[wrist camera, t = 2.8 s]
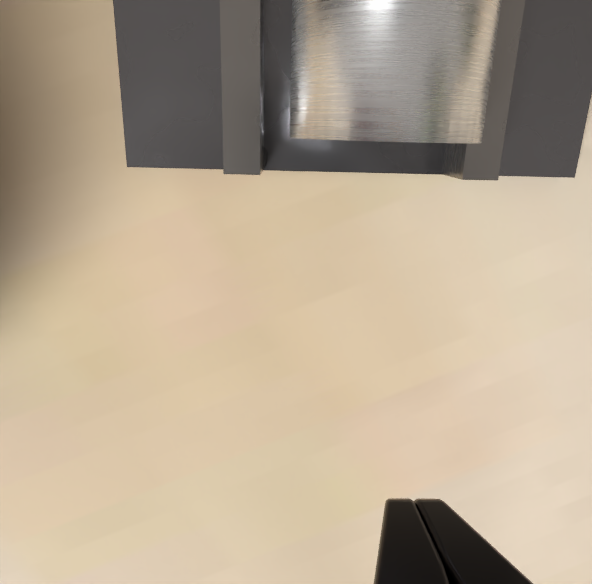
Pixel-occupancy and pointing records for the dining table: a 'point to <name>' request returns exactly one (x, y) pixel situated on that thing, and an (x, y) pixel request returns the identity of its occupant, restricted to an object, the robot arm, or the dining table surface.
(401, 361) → the dining table surface
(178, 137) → the vise clamping cylinder
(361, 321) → the dining table surface
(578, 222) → the dining table surface
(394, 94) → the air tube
